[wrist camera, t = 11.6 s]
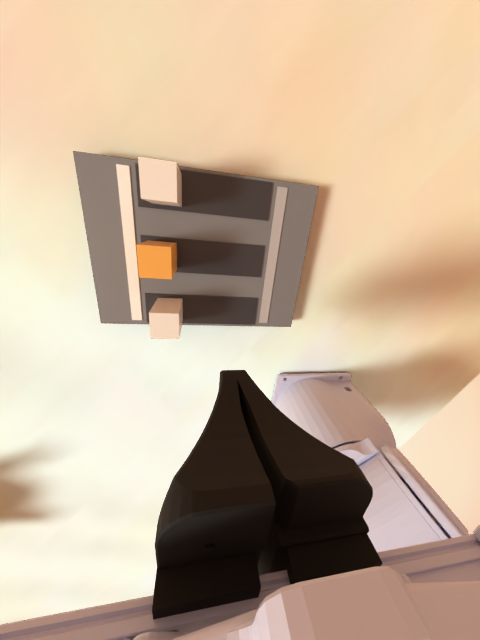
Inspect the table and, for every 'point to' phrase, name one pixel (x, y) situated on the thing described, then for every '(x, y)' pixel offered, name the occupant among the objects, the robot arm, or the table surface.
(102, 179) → the panel
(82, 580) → the table surface
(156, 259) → the breaker
